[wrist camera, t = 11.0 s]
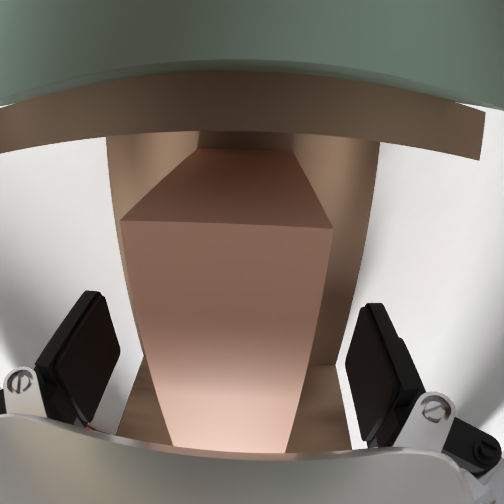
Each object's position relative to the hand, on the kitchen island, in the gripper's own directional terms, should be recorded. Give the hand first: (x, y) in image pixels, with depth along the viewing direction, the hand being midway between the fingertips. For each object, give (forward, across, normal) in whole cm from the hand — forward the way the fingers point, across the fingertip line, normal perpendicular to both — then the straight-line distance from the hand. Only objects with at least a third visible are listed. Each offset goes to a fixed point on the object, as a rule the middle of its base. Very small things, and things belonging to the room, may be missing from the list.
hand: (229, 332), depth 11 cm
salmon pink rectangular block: (+5, 0, 0) cm, 5 cm away
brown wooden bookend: (+6, 0, -3) cm, 7 cm away
